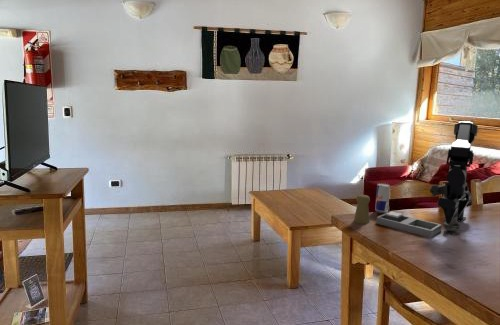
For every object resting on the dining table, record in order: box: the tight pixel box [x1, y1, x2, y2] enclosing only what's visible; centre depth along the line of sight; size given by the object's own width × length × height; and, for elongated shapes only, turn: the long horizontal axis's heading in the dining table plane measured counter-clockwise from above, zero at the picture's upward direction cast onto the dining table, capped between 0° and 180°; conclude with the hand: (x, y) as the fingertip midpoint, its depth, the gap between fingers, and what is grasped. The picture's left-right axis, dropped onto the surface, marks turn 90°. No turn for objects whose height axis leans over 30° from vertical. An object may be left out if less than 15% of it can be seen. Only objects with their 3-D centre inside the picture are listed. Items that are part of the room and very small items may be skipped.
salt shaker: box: [443, 209, 462, 237], centre depth 153 cm, size 6×6×12 cm
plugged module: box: [385, 211, 404, 222], centre depth 163 cm, size 5×5×4 cm
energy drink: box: [374, 183, 391, 214], centre depth 179 cm, size 5×5×12 cm
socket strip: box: [375, 211, 443, 238], centre depth 160 cm, size 10×21×3 cm, turn 46°
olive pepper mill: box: [353, 194, 371, 225], centre depth 165 cm, size 6×6×11 cm
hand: (452, 220), depth 154 cm, fingers open, 9 cm apart
